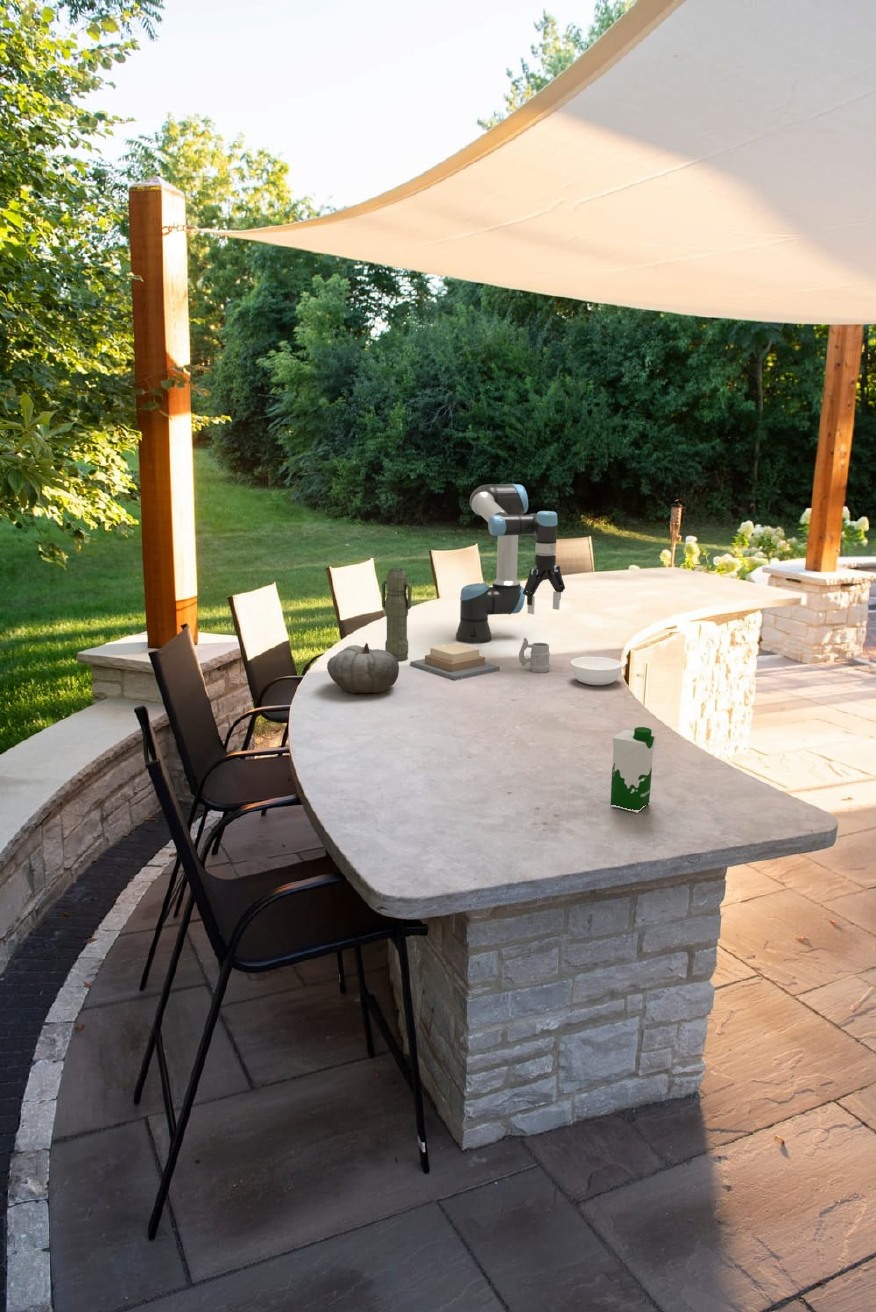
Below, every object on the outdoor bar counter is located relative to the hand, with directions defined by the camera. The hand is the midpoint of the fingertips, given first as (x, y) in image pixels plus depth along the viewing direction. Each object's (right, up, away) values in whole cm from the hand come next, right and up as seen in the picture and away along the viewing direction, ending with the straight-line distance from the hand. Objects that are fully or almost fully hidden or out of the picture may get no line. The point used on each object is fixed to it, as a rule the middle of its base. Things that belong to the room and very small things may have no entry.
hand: (543, 611), depth 348 cm
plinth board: (-33, -21, +5) cm, 39 cm away
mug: (-3, -22, +3) cm, 22 cm away
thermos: (-55, -18, +17) cm, 60 cm away
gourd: (-65, -28, -23) cm, 74 cm away
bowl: (+17, -26, -13) cm, 34 cm away
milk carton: (+8, -53, -118) cm, 130 cm away
